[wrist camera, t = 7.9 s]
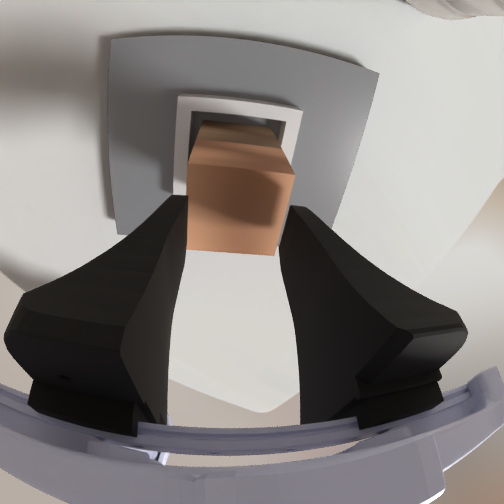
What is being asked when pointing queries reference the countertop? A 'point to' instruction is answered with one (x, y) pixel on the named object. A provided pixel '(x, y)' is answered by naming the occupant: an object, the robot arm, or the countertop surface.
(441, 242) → the countertop surface
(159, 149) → the collar board
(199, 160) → the copper rectangular block
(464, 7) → the plastic bottle
